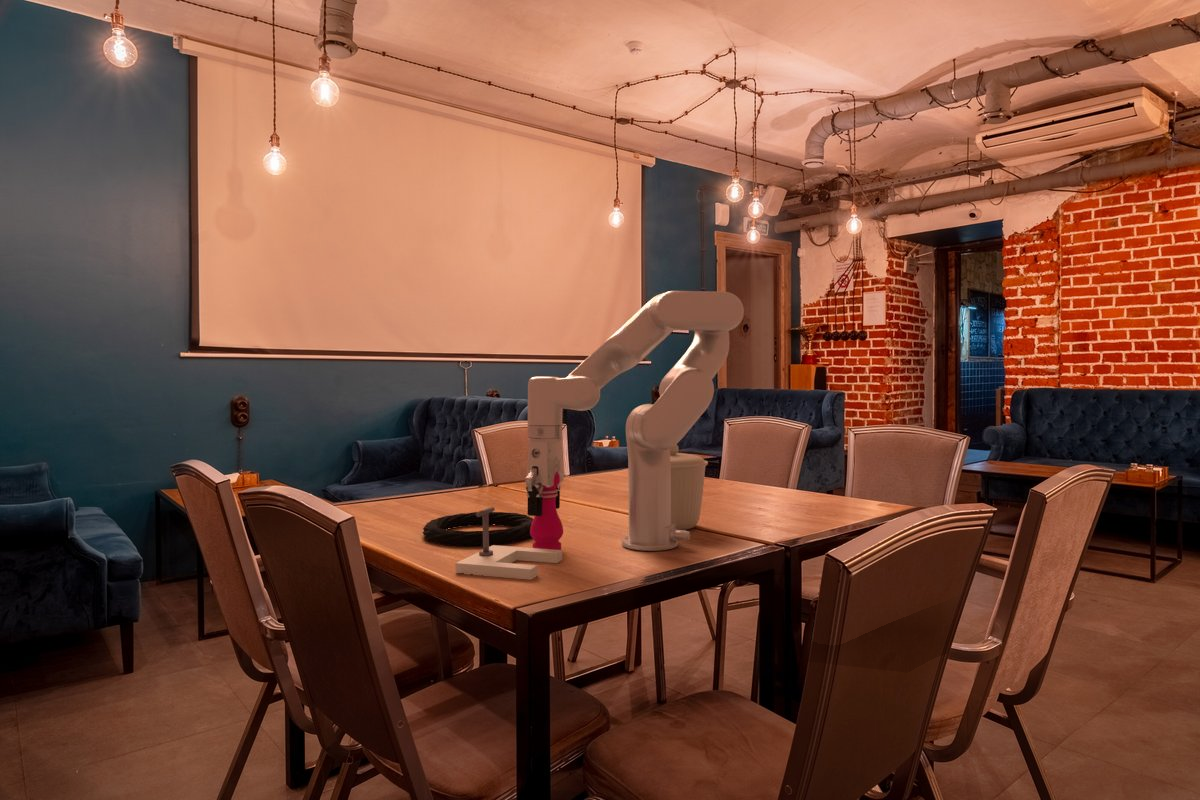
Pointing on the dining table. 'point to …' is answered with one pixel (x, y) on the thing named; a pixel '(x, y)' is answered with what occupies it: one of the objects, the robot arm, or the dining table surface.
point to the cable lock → (439, 534)
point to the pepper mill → (548, 520)
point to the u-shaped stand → (504, 557)
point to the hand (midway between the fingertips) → (543, 511)
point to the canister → (686, 488)
